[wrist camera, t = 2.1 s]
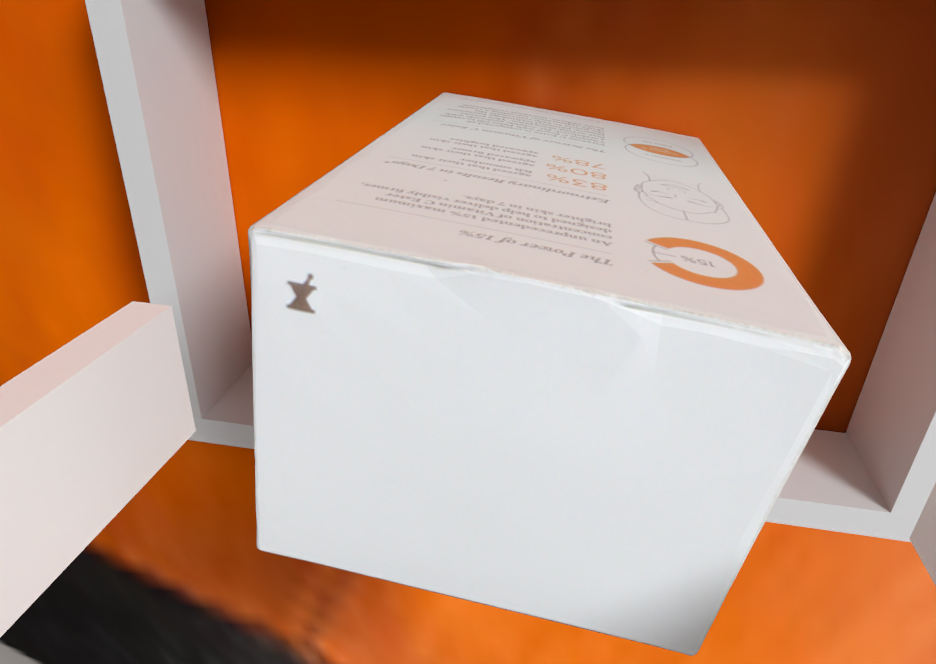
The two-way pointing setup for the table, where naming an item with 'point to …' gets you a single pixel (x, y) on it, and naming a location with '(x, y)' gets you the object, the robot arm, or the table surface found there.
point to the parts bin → (226, 315)
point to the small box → (531, 369)
